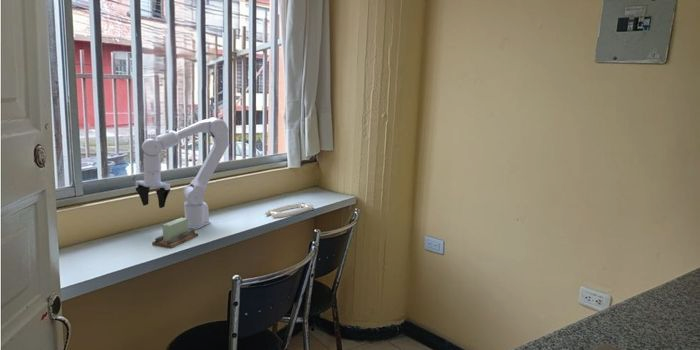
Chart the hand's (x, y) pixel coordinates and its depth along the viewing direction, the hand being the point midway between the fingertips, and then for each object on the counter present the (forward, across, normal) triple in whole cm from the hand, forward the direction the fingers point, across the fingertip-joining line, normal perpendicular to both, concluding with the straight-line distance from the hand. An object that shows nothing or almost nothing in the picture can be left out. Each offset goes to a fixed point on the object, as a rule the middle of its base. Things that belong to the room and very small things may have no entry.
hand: (153, 206), depth 187 cm
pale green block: (+8, +15, -6) cm, 18 cm away
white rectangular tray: (+10, +35, +46) cm, 58 cm away
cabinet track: (+9, +15, -6) cm, 19 cm away
